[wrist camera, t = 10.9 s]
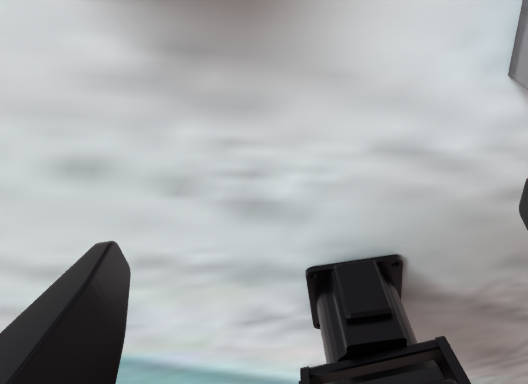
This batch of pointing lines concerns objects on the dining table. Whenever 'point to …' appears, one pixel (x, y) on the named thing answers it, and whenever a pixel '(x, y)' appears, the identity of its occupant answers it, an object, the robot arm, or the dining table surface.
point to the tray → (521, 49)
